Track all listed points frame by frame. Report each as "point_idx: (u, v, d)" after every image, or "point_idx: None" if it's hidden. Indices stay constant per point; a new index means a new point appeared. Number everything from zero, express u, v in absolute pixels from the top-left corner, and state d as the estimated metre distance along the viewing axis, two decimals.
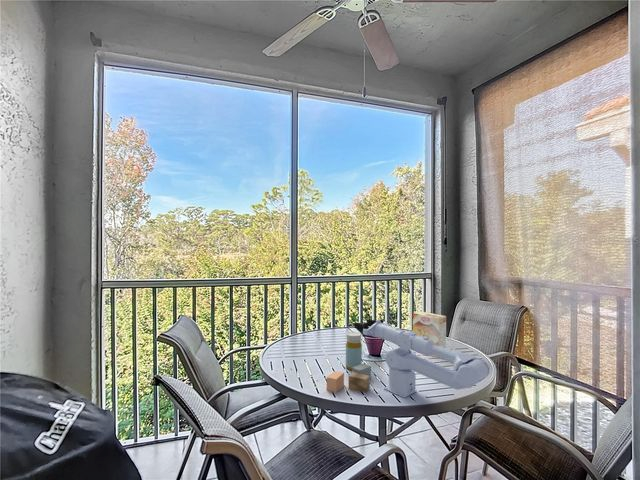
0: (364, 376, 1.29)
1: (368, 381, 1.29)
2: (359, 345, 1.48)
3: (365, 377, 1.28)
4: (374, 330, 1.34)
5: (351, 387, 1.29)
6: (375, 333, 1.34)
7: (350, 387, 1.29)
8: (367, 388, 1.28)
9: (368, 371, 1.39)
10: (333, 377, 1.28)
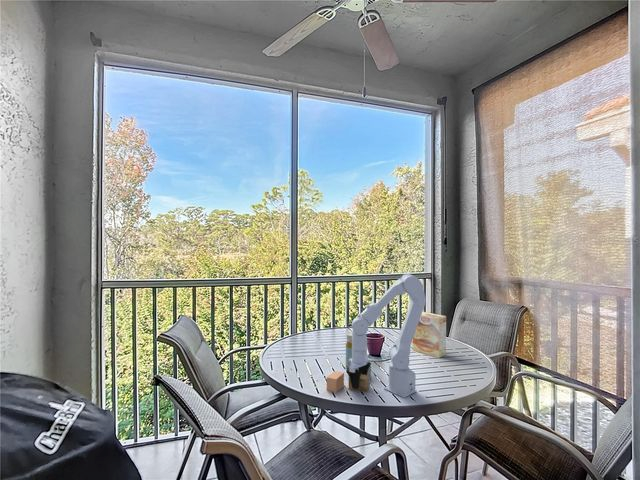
0: (364, 376, 1.29)
1: (368, 381, 1.29)
2: None
3: (365, 377, 1.28)
4: (355, 362, 1.27)
5: (351, 387, 1.29)
6: (358, 361, 1.27)
7: (350, 387, 1.29)
8: (367, 388, 1.28)
9: (368, 371, 1.39)
10: (333, 377, 1.28)
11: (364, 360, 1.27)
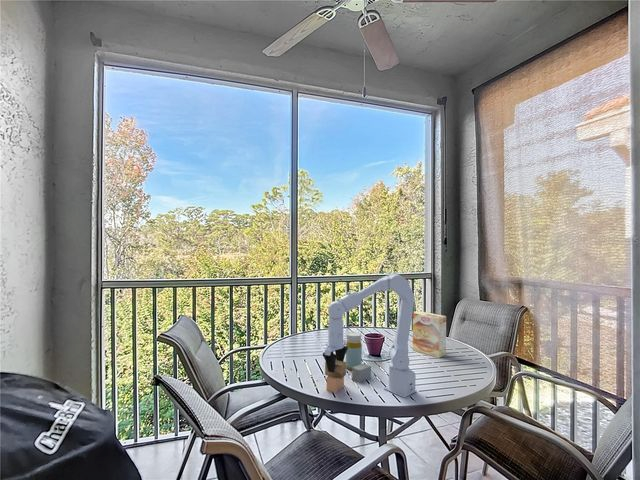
0: (340, 362, 1.30)
1: (344, 367, 1.29)
2: (359, 345, 1.48)
3: (341, 363, 1.28)
4: (331, 345, 1.28)
5: (327, 373, 1.29)
6: (334, 345, 1.27)
7: (327, 373, 1.30)
8: (343, 374, 1.28)
9: (368, 371, 1.39)
10: (333, 377, 1.28)
11: (340, 343, 1.28)
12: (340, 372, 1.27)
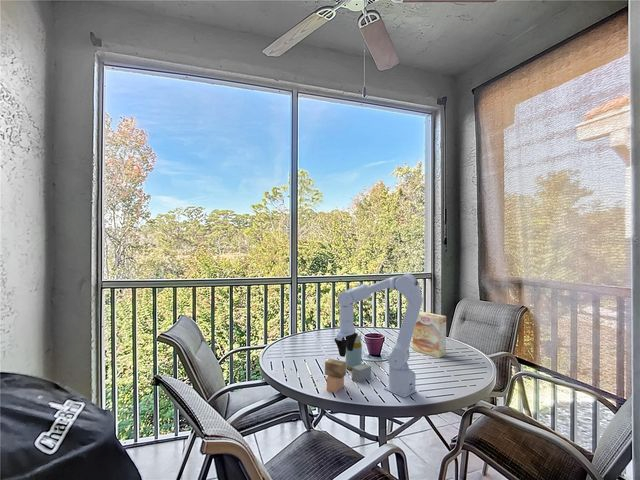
0: (340, 362, 1.30)
1: (344, 367, 1.29)
2: (359, 345, 1.48)
3: (341, 363, 1.28)
4: (343, 331, 1.36)
5: (327, 373, 1.30)
6: (345, 331, 1.36)
7: (326, 373, 1.30)
8: (343, 374, 1.28)
9: (368, 371, 1.39)
10: (333, 377, 1.28)
11: (351, 330, 1.36)
12: (340, 372, 1.27)
